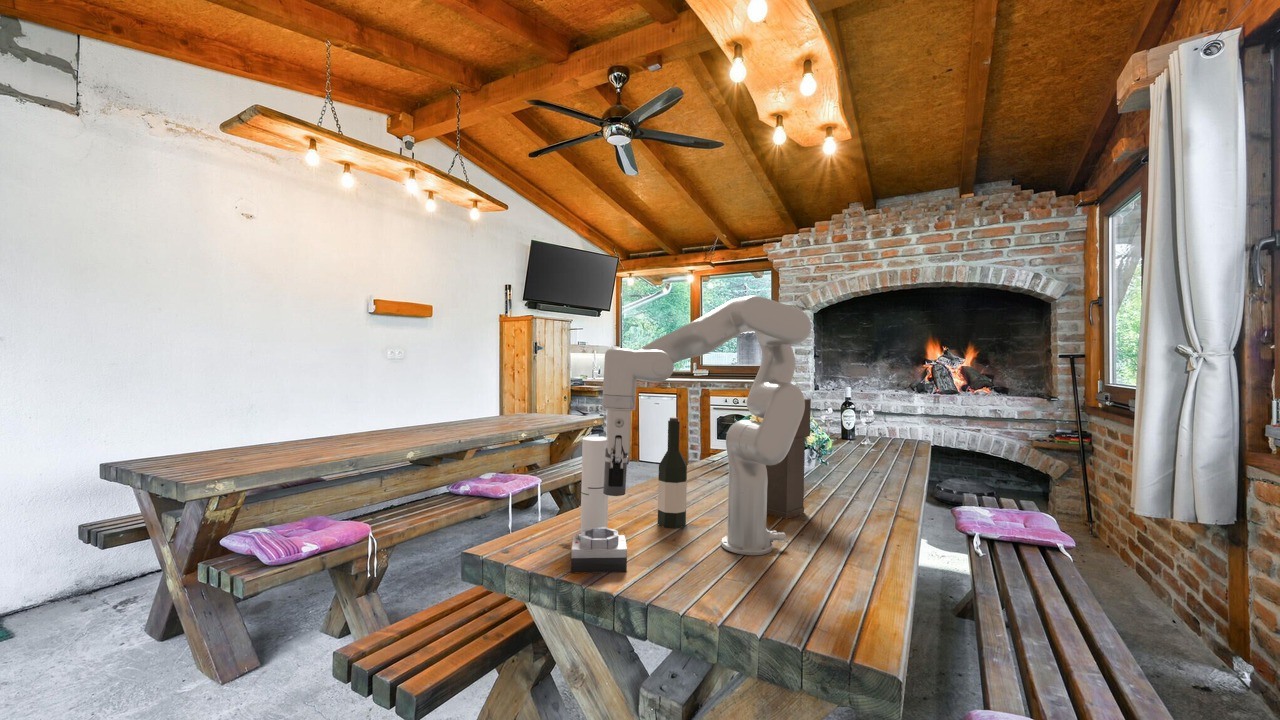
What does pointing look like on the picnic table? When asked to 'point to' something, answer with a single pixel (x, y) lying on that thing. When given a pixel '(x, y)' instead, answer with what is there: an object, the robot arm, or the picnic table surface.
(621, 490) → the flashlight
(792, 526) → the picnic table surface
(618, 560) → the octagonal metal flange
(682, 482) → the wine bottle
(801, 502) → the brown footed pillar
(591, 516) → the cylindrical container
